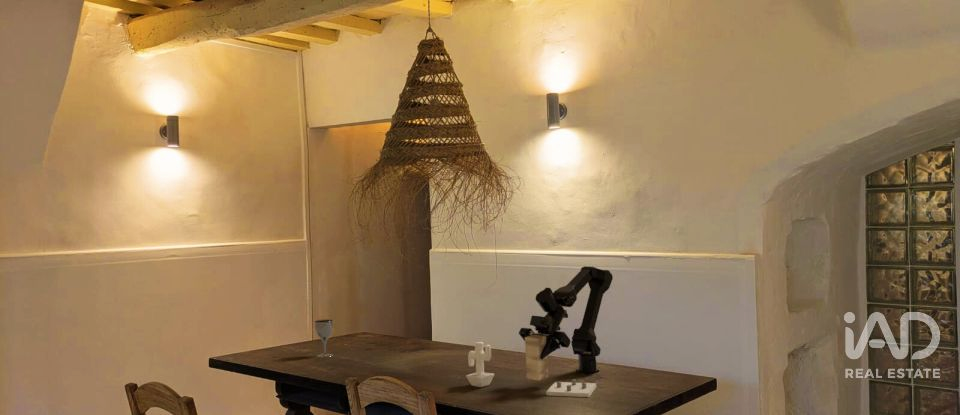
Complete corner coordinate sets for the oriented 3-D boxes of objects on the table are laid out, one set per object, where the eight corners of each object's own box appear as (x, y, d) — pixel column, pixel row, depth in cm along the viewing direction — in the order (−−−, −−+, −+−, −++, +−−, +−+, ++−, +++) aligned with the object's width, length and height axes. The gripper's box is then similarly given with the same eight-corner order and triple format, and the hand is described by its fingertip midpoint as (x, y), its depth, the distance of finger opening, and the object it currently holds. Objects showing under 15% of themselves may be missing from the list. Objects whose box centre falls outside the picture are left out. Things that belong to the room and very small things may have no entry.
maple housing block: (536, 375, 276) (534, 334, 276) (548, 377, 273) (546, 336, 272) (526, 378, 272) (524, 337, 272) (538, 380, 269) (537, 338, 268)
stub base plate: (555, 385, 275) (555, 377, 275) (596, 386, 271) (596, 378, 271) (546, 395, 262) (546, 386, 262) (589, 397, 257) (588, 388, 257)
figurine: (476, 381, 285) (475, 339, 285) (497, 384, 279) (496, 341, 279) (463, 385, 279) (462, 342, 279) (484, 388, 273) (482, 344, 273)
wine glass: (325, 353, 349) (324, 318, 349) (338, 354, 344) (337, 320, 344) (311, 356, 343) (310, 321, 342) (324, 358, 338) (323, 322, 338)
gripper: (520, 304, 281) (501, 341, 273) (564, 308, 269) (545, 346, 261) (535, 323, 287) (517, 360, 279) (578, 328, 275) (560, 366, 267)
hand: (534, 357), depth 271 cm, fingers closed on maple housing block, 5 cm apart
